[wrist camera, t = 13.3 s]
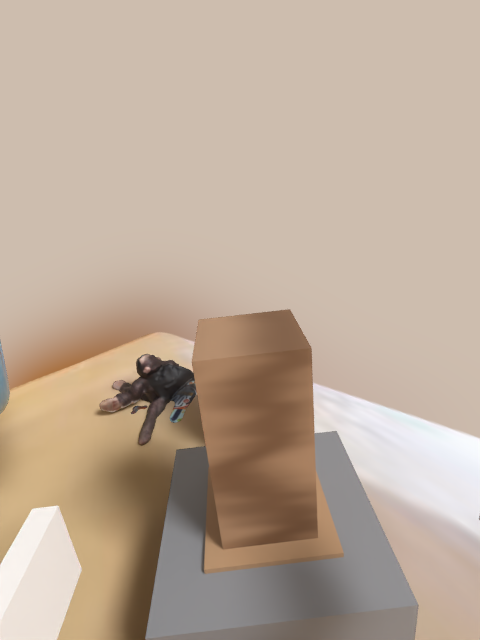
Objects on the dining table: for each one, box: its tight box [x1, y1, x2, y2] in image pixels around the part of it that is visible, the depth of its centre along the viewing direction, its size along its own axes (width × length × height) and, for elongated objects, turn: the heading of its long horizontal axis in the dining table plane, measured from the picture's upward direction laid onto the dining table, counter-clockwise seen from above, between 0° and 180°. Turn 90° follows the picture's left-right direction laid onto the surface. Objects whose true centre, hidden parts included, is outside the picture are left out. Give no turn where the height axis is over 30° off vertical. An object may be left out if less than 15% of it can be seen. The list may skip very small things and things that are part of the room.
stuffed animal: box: [100, 354, 197, 445], centre depth 43 cm, size 12×10×12 cm
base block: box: [145, 431, 418, 640], centre depth 22 cm, size 12×12×5 cm
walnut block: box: [192, 310, 318, 549], centre depth 19 cm, size 5×5×11 cm
